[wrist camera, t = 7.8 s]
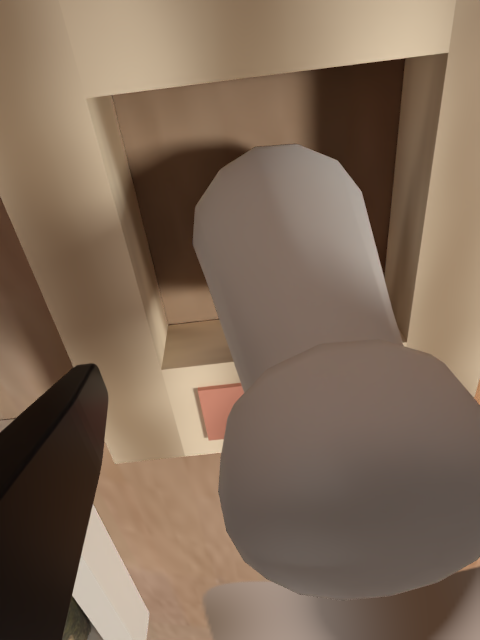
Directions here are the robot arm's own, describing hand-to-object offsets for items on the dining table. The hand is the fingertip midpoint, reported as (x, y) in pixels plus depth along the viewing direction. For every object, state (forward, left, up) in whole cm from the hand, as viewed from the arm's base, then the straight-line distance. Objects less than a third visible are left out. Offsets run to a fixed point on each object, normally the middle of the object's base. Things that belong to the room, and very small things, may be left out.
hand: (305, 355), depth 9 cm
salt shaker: (0, 0, -9) cm, 9 cm away
